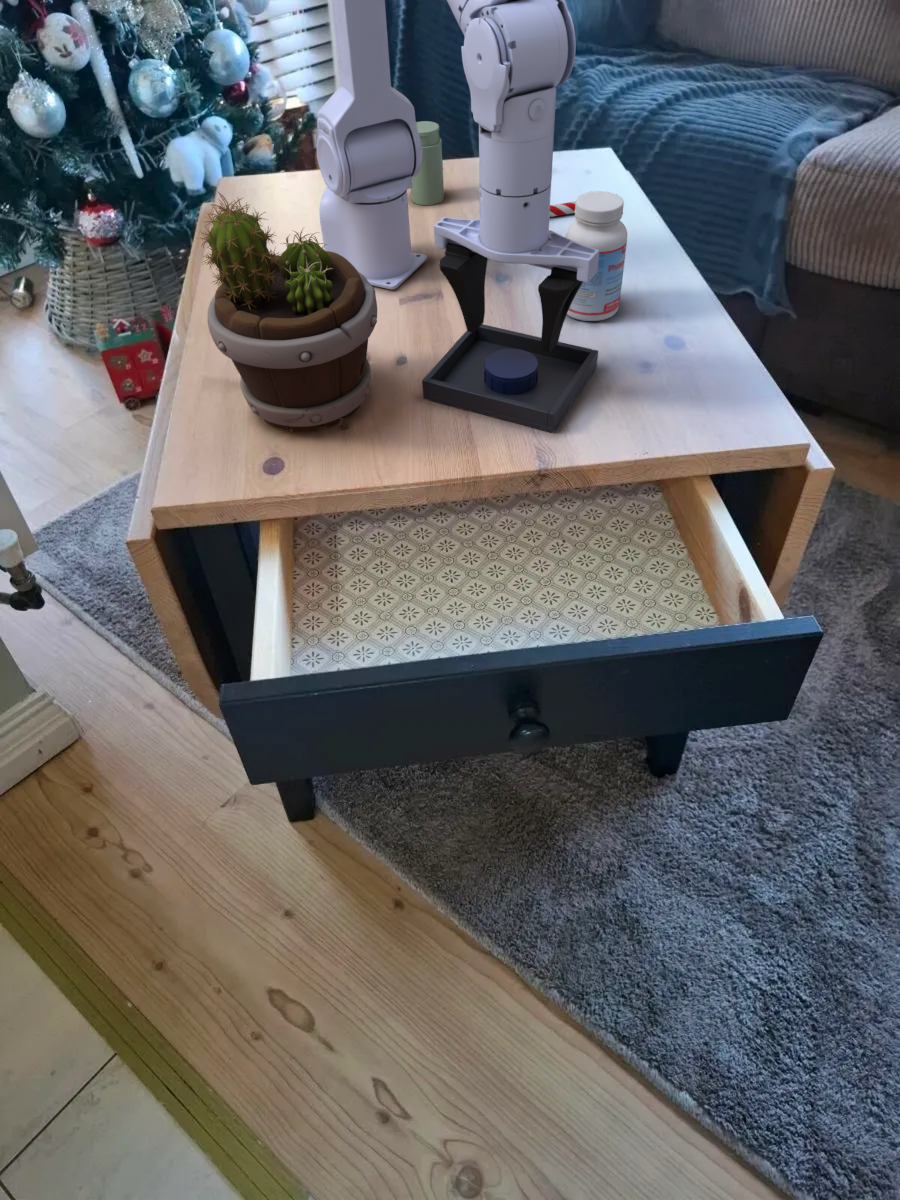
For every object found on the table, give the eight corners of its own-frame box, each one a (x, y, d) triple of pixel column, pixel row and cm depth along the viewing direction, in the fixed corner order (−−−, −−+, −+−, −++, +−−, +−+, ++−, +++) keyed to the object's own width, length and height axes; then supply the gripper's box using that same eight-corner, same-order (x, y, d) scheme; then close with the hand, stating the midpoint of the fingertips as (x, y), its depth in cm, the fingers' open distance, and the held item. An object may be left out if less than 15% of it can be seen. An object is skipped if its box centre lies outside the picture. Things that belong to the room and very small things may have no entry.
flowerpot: (379, 350, 85) (355, 138, 70) (394, 442, 75) (370, 216, 60) (235, 366, 84) (180, 154, 69) (230, 461, 74) (164, 237, 59)
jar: (405, 202, 108) (400, 130, 102) (420, 189, 111) (415, 118, 104) (435, 207, 107) (431, 134, 101) (449, 194, 110) (446, 122, 103)
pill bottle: (616, 325, 86) (630, 216, 78) (557, 321, 87) (564, 212, 79) (620, 296, 90) (633, 189, 82) (564, 292, 91) (571, 186, 83)
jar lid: (500, 400, 78) (500, 383, 76) (475, 374, 81) (475, 357, 79) (547, 385, 79) (548, 368, 78) (520, 359, 82) (520, 343, 81)
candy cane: (613, 206, 102) (490, 210, 103) (612, 217, 103) (490, 221, 104) (606, 180, 107) (489, 184, 108) (605, 191, 108) (489, 195, 109)
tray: (423, 398, 79) (421, 380, 78) (474, 339, 86) (474, 322, 84) (553, 433, 75) (554, 414, 73) (596, 368, 81) (598, 350, 80)
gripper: (620, 179, 66) (603, 334, 76) (460, 150, 71) (464, 299, 81) (583, 214, 62) (570, 373, 72) (417, 181, 67) (426, 333, 77)
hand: (512, 336), depth 77 cm, fingers open, 7 cm apart
